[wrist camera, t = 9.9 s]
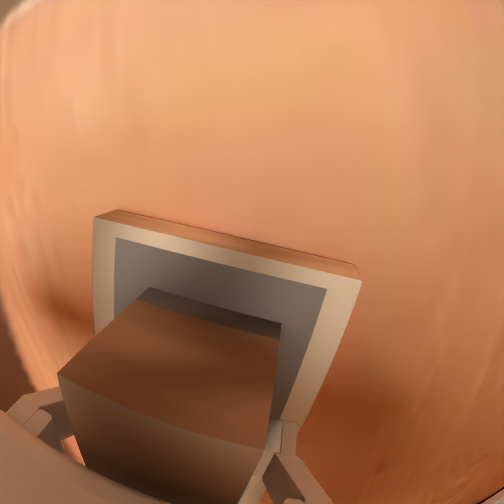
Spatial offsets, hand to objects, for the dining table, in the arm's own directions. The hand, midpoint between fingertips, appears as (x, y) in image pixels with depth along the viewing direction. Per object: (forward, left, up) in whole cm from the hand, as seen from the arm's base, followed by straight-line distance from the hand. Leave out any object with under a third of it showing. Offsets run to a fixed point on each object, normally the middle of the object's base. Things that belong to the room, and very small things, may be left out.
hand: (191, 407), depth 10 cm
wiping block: (0, 0, -1) cm, 1 cm away
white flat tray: (0, +4, -3) cm, 5 cm away
